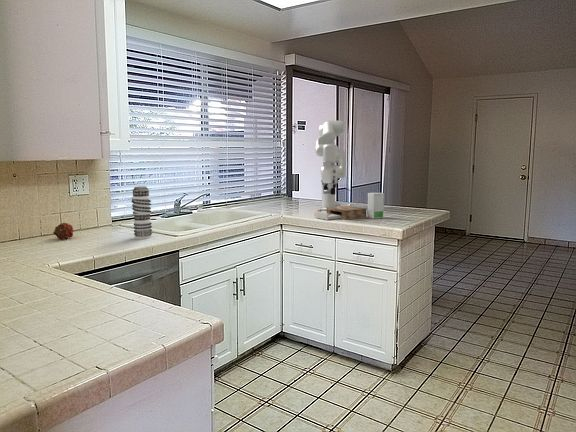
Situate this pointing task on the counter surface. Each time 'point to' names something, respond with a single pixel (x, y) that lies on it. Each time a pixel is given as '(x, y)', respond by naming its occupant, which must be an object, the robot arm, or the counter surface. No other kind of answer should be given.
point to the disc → (327, 191)
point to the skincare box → (375, 205)
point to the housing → (347, 212)
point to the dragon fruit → (63, 231)
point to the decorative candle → (141, 212)
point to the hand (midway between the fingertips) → (329, 193)
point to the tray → (326, 215)
